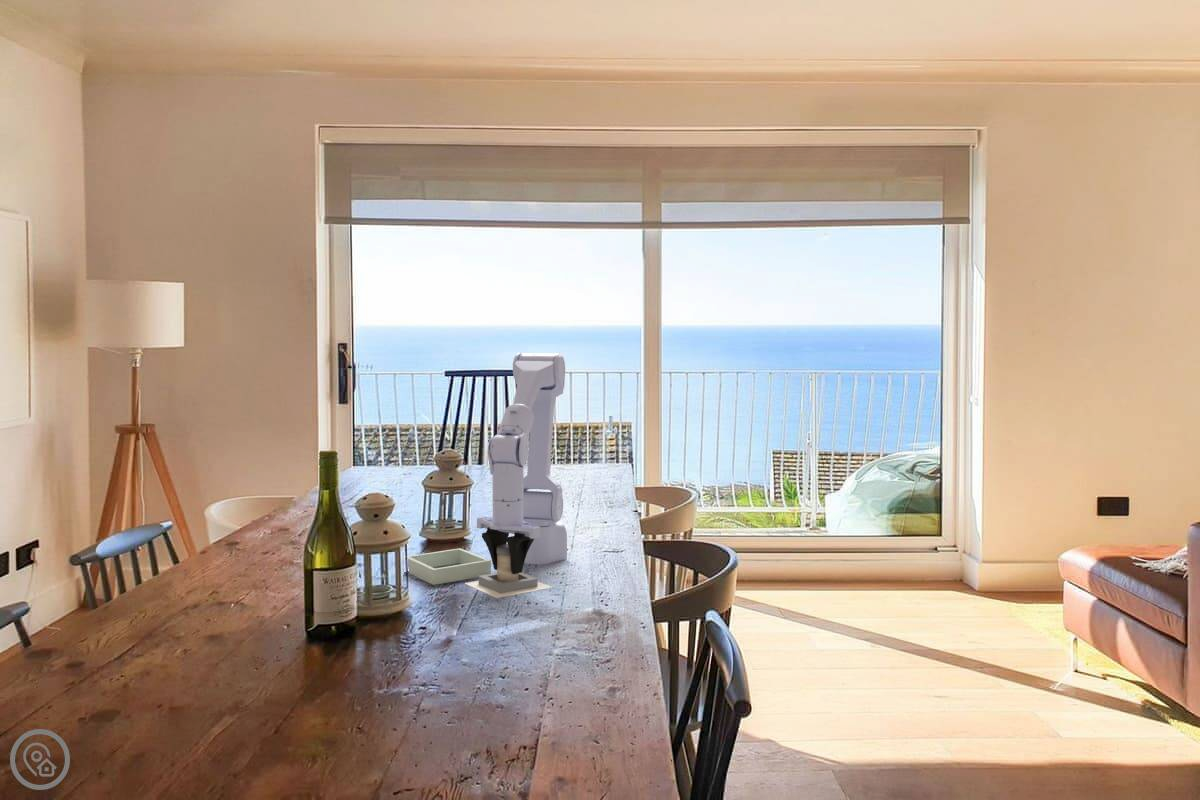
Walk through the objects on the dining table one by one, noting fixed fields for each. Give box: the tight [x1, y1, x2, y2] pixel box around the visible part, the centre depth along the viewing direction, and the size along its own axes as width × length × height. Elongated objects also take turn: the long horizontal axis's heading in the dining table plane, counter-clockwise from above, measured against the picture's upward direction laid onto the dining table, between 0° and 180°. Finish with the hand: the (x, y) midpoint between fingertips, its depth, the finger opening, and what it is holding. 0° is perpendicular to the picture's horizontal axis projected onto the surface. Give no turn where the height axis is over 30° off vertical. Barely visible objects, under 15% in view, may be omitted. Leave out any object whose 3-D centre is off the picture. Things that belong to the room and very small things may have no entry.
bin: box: [407, 548, 492, 586], centre depth 183 cm, size 12×12×4 cm
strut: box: [496, 543, 519, 583], centre depth 174 cm, size 4×4×7 cm
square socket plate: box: [463, 571, 553, 599], centre depth 175 cm, size 12×12×3 cm
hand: (507, 570), depth 174 cm, fingers closed on strut, 4 cm apart
